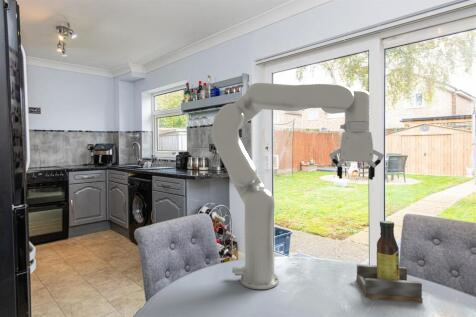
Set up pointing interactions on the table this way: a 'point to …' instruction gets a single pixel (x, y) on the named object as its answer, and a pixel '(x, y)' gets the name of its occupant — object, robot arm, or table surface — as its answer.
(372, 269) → the bottle track
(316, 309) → the table surface
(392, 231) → the sauce bottle
